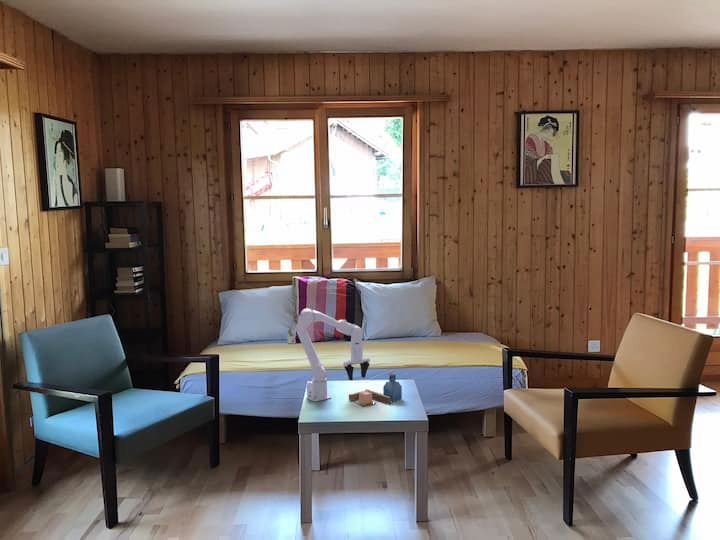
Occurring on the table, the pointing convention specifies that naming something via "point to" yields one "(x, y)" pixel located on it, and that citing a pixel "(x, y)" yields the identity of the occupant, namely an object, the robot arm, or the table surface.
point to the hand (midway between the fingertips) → (357, 378)
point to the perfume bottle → (393, 388)
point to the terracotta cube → (365, 397)
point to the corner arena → (374, 395)
